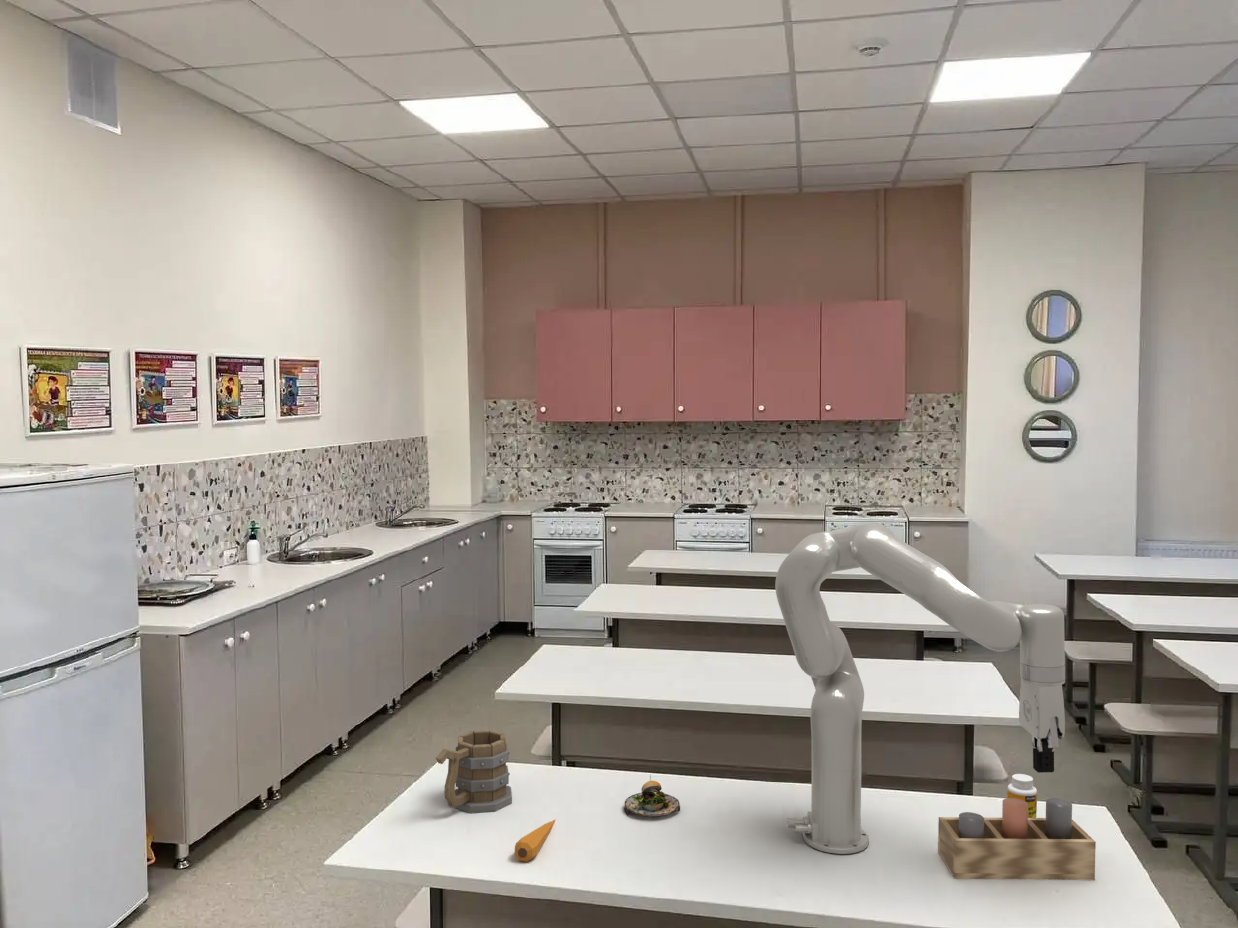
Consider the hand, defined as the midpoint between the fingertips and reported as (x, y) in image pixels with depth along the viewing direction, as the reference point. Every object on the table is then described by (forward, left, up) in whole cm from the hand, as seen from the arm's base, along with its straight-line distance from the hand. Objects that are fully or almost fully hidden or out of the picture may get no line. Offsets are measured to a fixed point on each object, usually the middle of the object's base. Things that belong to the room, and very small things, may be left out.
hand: (1043, 770), depth 177 cm
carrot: (-94, +9, -19) cm, 96 cm away
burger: (-72, +24, -19) cm, 78 cm away
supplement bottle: (+3, +17, -18) cm, 25 cm away
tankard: (-111, +25, -19) cm, 115 cm away
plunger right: (+3, 0, -13) cm, 14 cm away
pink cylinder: (-5, 0, -13) cm, 14 cm away
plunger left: (-13, 0, -16) cm, 21 cm away
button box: (-5, 0, -18) cm, 19 cm away
